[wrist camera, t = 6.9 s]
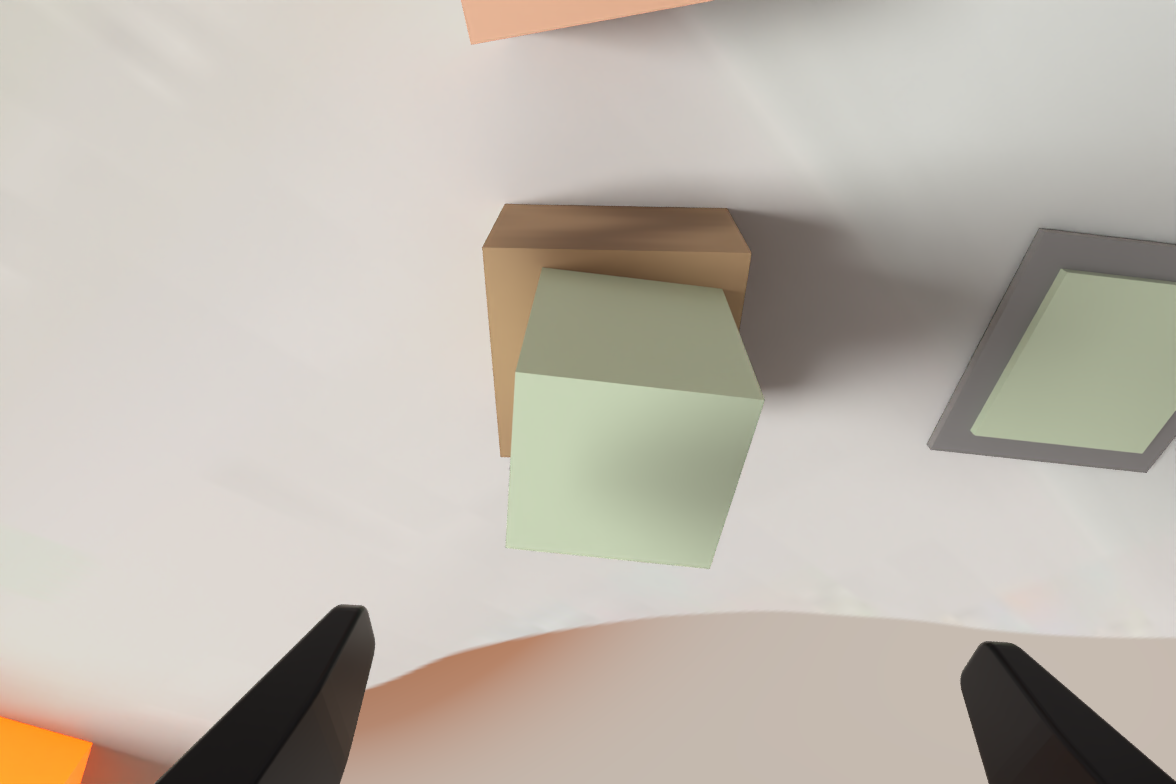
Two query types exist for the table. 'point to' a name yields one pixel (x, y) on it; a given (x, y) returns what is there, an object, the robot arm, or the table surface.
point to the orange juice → (40, 755)
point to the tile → (1074, 359)
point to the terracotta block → (549, 14)
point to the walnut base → (598, 265)
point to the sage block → (628, 420)
